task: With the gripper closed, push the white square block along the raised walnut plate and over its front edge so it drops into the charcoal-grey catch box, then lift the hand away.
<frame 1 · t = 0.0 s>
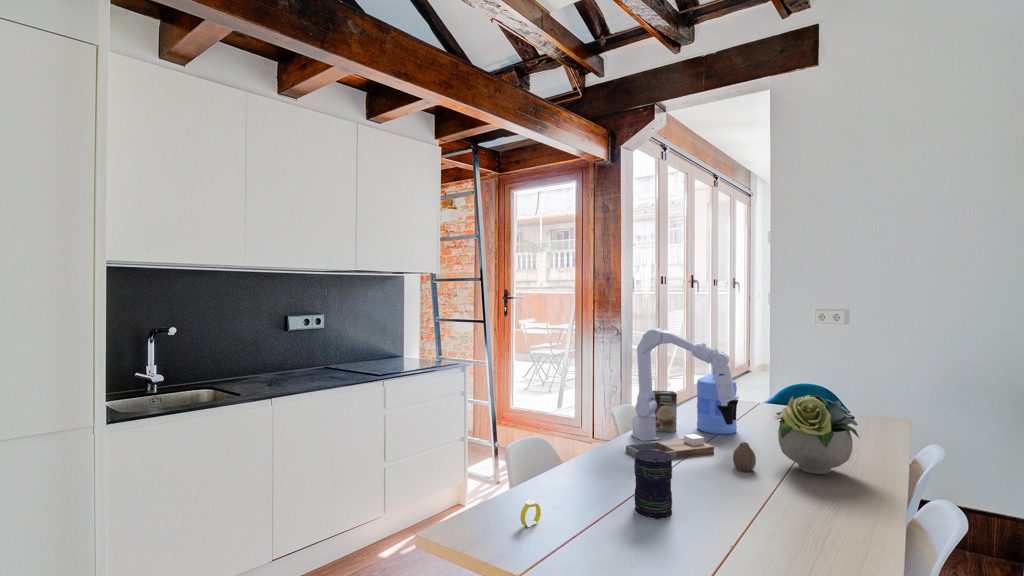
hand: (731, 422, 193), 11 cm above the table, tool pointing down, fingers open, 7 cm apart
catch box: (650, 455, 188), on the table
flower arrangement: (813, 471, 172), on the table
coffee box: (664, 430, 221), on the table
brown oval piece: (744, 470, 173), on the table
storage jar: (653, 512, 141), on the table
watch: (530, 525, 132), on the table
water jug: (716, 430, 221), on the table
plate: (684, 451, 193), on the table
white square block: (693, 443, 194), point 2 cm above the table, touching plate
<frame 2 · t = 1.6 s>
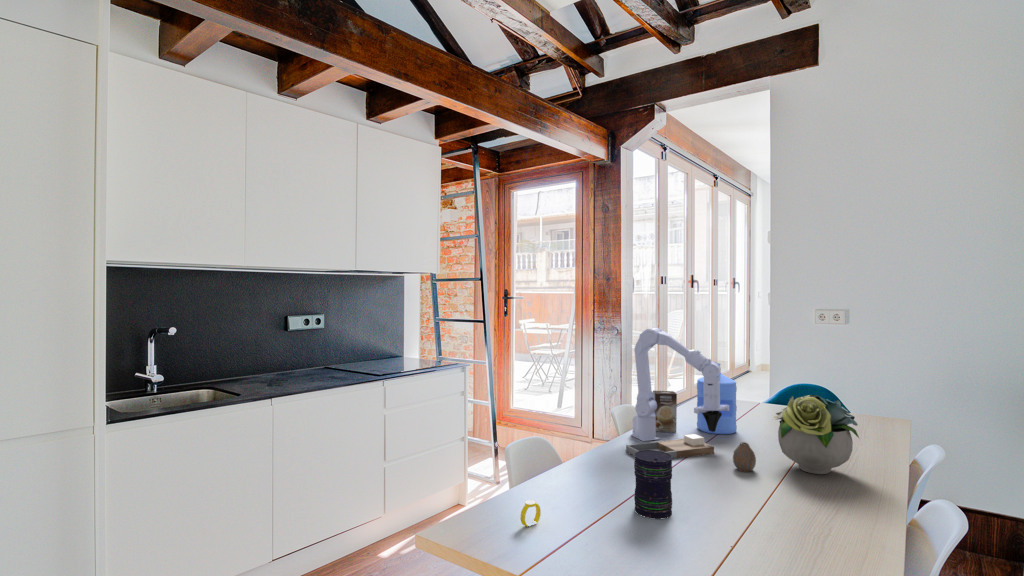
hand: (711, 431, 196), 6 cm above the table, tool pointing down, fingers closed
nothing on the table moved.
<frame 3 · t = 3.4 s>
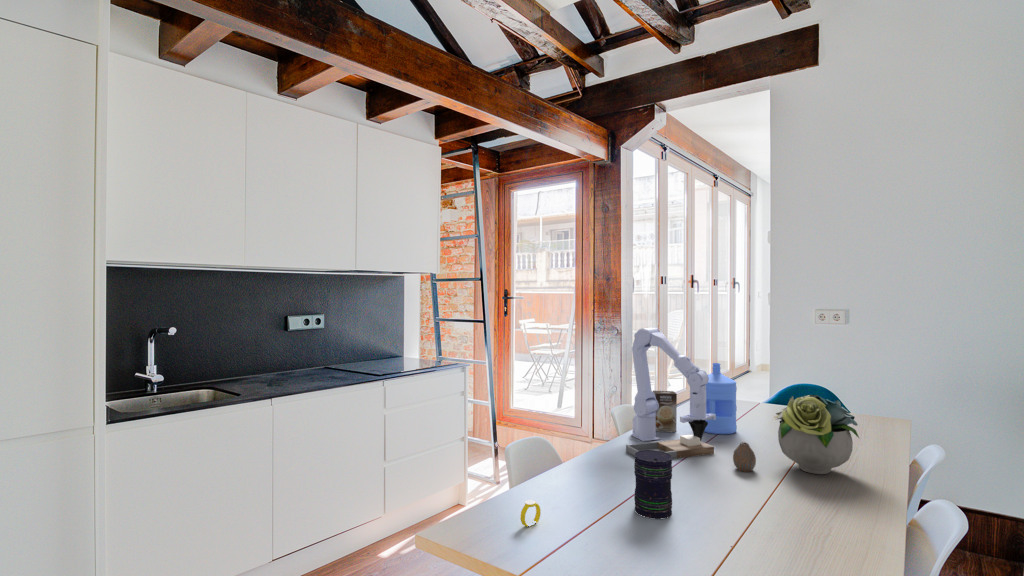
hand: (698, 440, 194), 3 cm above the table, tool pointing down, fingers closed
white square block: (690, 443, 193), point 3 cm above the table, touching gripper, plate
everything else where it was.
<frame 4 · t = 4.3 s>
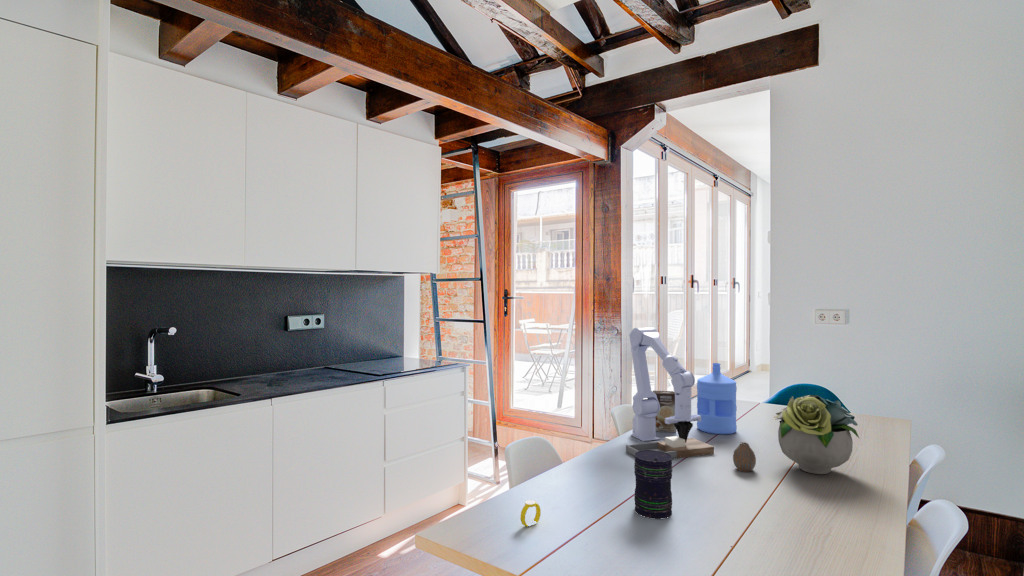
hand: (683, 441, 192), 3 cm above the table, tool pointing down, fingers closed
white square block: (674, 445, 191), point 3 cm above the table, touching gripper
everything else where it was.
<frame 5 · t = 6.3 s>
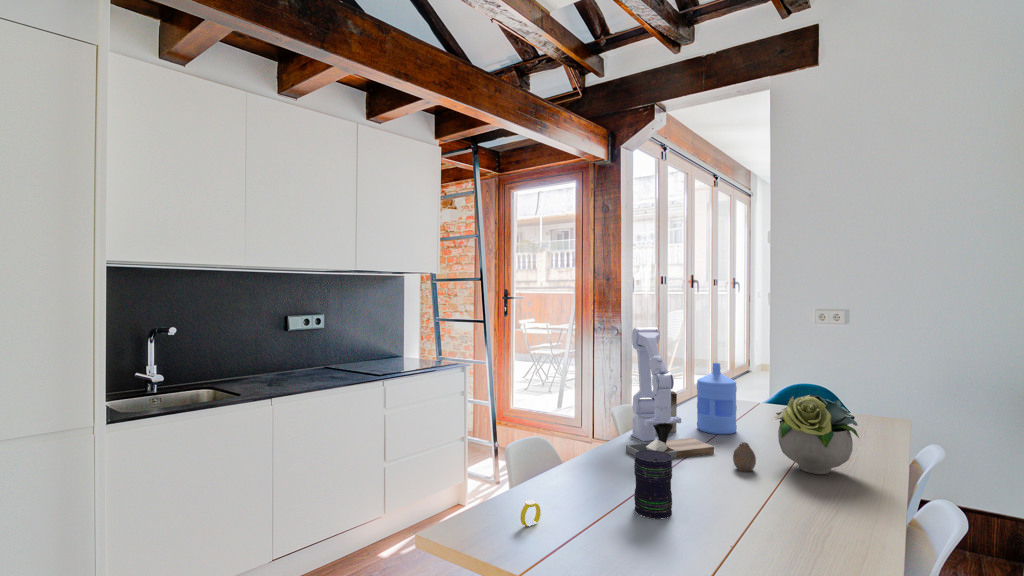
hand: (662, 444, 189), 3 cm above the table, tool pointing down, fingers closed
white square block: (657, 450, 188), point 2 cm above the table, tilted 27°, touching catch box, gripper
everything else where it was.
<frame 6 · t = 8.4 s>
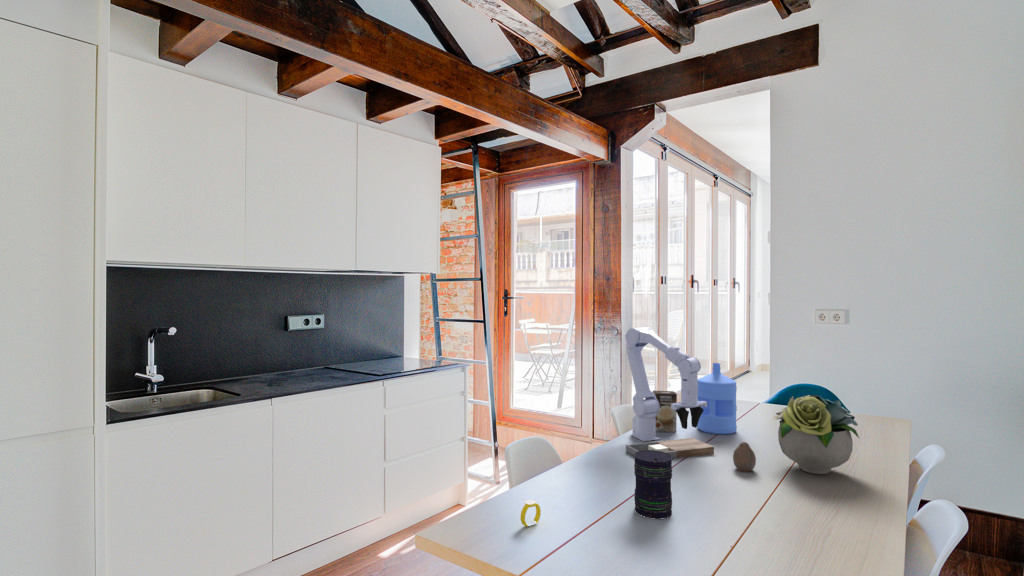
hand: (689, 427, 193), 8 cm above the table, tool pointing down, fingers open, 4 cm apart
white square block: (658, 453, 188), resting on catch box
everything else where it was.
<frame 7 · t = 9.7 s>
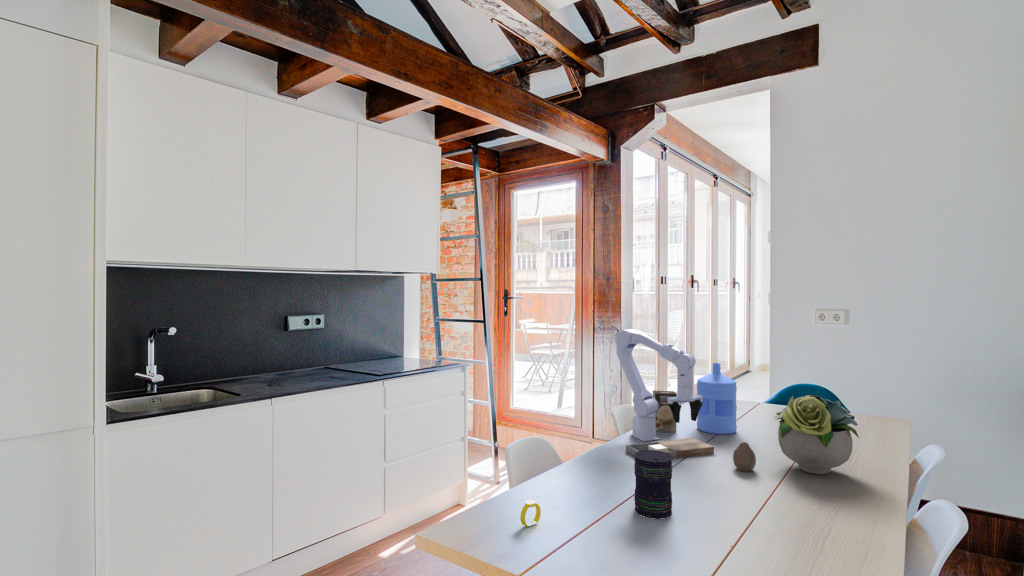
hand: (685, 421, 199), 9 cm above the table, tool pointing down, fingers open, 7 cm apart
nothing on the table moved.
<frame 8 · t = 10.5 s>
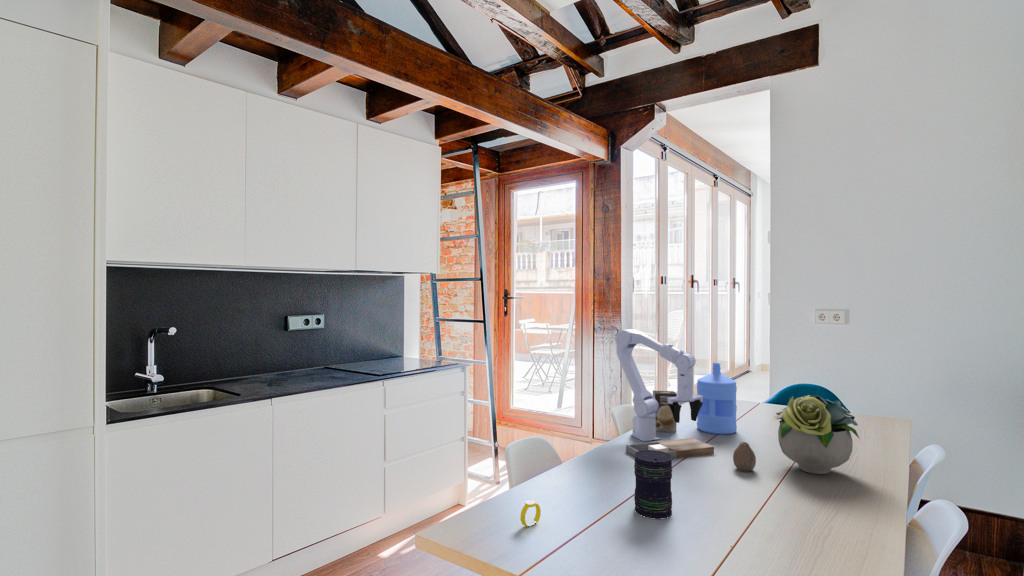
hand: (685, 421, 199), 9 cm above the table, tool pointing down, fingers open, 7 cm apart
nothing on the table moved.
at the end: white square block inside the target area (2.6 cm from its centre), resting on catch box; the gripper is holding nothing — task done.
